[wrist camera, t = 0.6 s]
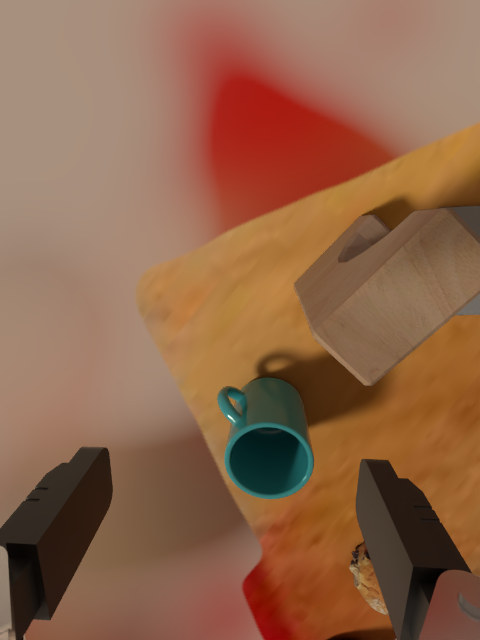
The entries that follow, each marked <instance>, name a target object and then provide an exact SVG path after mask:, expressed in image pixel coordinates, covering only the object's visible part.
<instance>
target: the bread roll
mask: <svg viewBox="0 0 480 640" xmlns="http://www.w3.org/2000/svg"><path fill="white" fill-rule="evenodd" d="M352 555H353V560H352V561H351V565H350V567H349V568H350V570H351V572H353V575H354V585H355V586H356V587H357V589H358V590H359V592H360V594H361V595H362V597H363V598H364V599H365V600H366V602H367V603H368V604H369V605H370V606H371V607H372V608H373V609H375V610H376V611H378V612H380V613H382V614H385V615H389V614H388V611H387V608H386V605H385V602H384V599H383V596H382V593H381V590H380V586H379V583H378V580H377V577H376V574H375V571H374V568H373V565H372V562H371V559H370V556H369V553H368V550H367V547H366V544H365V542H364V543H362V544H361V545H360V546H359V547H358V548H357V549H356V551H355V552H354V551H353V552H352Z"/></svg>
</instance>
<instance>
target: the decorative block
mask: <svg viewBox="0 0 480 640" xmlns="http://www.w3.org/2000/svg"><path fill="white" fill-rule="evenodd" d="M294 288H295V291H296V293H297V296H298V298H299V301H300V304H301V306H302V309H303V311H304V314H305V316H306V319H307V322H308V324H309V327H310V329H311V332H312V335H313V337H314V339H315V340H316V341H317V342H318V343H319V344H320V345H321V346H323V347H324V348H325V349H326V350H327V351H328V352H329V353H330V354H331V355H332V356H333V357H334V358H335V359H337V360H338V361H339V362H340V363H341V364H342V365H343V366H344V367H345V368H346V369H347V370H348V371H350V372H351V373H352V374H353V375H354V376H355V377H356V378H357V379H358V380H359V381H360V382H361V383H363V384H364V385H365V386H373V385H374V384H375V383H376V382H377V381H378V380H380V379H381V378H382V377H383V376H384V375H385V374H387V373H388V372H389V371H390V370H391V369H393V368H394V367H395V366H396V365H397V364H398V363H400V362H401V361H402V360H403V359H404V358H405V357H407V356H408V355H409V354H410V353H411V352H412V351H414V350H415V349H416V348H417V347H418V346H420V345H421V344H422V343H423V342H424V341H425V340H427V339H428V338H429V337H430V336H431V335H432V334H434V333H435V332H436V331H437V330H438V329H439V328H441V327H442V326H443V325H444V324H445V323H446V322H448V321H449V320H450V319H451V318H452V317H453V316H455V315H456V314H457V313H458V312H459V311H460V310H462V309H463V308H464V307H465V306H466V305H467V304H468V303H470V302H471V301H472V300H473V299H474V298H475V297H477V296H478V295H479V294H480V237H479V236H478V235H477V234H476V233H475V232H474V231H473V230H472V229H471V228H470V227H469V226H468V225H467V224H466V223H465V221H464V220H463V219H462V218H461V217H460V216H459V215H458V214H457V213H456V212H455V211H454V210H453V209H452V208H440V209H429V210H419V211H414V212H412V213H411V214H410V215H409V216H408V217H407V218H406V219H405V220H403V221H402V222H401V223H400V224H399V225H398V226H397V227H396V228H394V229H393V230H392V231H391V230H390V229H389V228H388V227H387V226H386V225H385V224H384V223H383V222H382V221H381V220H380V219H379V218H378V217H377V216H376V215H364V216H359V217H358V219H357V220H356V221H355V222H354V223H353V224H352V225H351V226H350V227H349V228H348V229H347V230H346V231H345V232H344V233H343V234H342V235H341V236H340V237H339V238H338V239H337V240H336V241H335V242H334V243H333V244H332V245H331V246H330V247H329V248H328V249H327V250H326V251H325V252H324V253H323V254H322V255H321V256H320V257H319V258H318V259H317V260H316V261H315V262H314V264H313V265H312V266H311V267H310V268H309V269H308V270H307V271H306V272H305V273H304V274H303V275H302V276H301V277H300V278H299V279H298V280H297V281H296V282H295V283H294Z"/></svg>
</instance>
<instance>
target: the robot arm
mask: <svg viewBox="0 0 480 640" xmlns="http://www.w3.org/2000/svg"><path fill="white" fill-rule="evenodd" d="M112 492H113V486H112V477H111V467H110V459H109V451H108V449H107V448H103V447H81V448H80V449H79V450H78V452H77V453H76V454H75V456H74V457H73V458H72V459H71V461H70V462H69V463H62V464H60V465H59V466H57V467H56V468H54V469H53V470H52V471H50V472H49V473H47V474H46V475H45V477H43V479H42V480H41V481H40V482H39V483H38V485H37V486H36V487H35V490H32V492H31V493H30V494H29V495H28V496H27V498H26V501H23V502H22V503H21V505H20V506H19V507H18V508H17V509H16V511H15V512H14V513H13V514H12V515H11V517H10V518H9V519H8V520H7V521H6V522H5V524H4V525H3V526H2V527H1V528H0V640H25V635H24V634H25V633H26V630H27V629H28V627H29V625H30V624H31V622H32V620H33V619H38V620H51V618H52V616H53V614H54V612H55V610H56V608H57V606H58V604H59V602H60V601H61V599H62V597H63V595H64V593H65V591H66V589H67V587H68V585H69V583H70V581H71V580H72V578H73V576H74V574H75V572H76V570H77V568H78V566H79V564H80V562H81V561H82V558H83V557H84V555H85V553H86V551H87V549H88V547H89V545H90V543H91V541H92V539H93V538H94V536H95V534H96V532H97V530H98V528H99V526H100V524H101V522H102V520H103V519H104V517H105V515H106V513H107V511H108V509H109V506H110V503H111V499H112ZM356 513H357V519H358V523H359V526H360V529H361V532H362V535H363V538H364V541H365V544H366V547H367V550H368V553H369V556H370V559H371V562H372V565H373V568H374V571H375V574H376V577H377V580H378V583H379V586H380V590H381V593H382V596H383V599H384V602H385V605H386V608H387V611H388V614H389V617H390V620H391V623H392V626H393V629H394V632H395V635H396V638H397V640H480V577H478V576H476V575H474V574H472V572H471V571H470V569H469V567H468V566H467V564H466V562H465V561H464V559H463V558H462V556H461V554H460V553H459V551H458V549H457V548H456V546H455V544H454V543H453V541H452V539H451V538H450V536H449V534H448V533H447V531H446V530H445V528H444V526H443V525H442V523H440V521H439V518H438V516H437V515H436V513H435V511H434V510H432V506H431V505H430V503H429V502H428V500H427V498H426V497H425V495H424V493H423V492H422V491H421V490H420V489H419V488H418V487H417V486H415V485H414V484H413V483H412V482H411V481H410V480H409V479H403V478H398V477H397V475H396V473H395V471H394V469H393V467H392V466H391V464H390V462H389V461H388V460H373V459H362V460H361V463H360V470H359V479H358V487H357V496H356Z"/></svg>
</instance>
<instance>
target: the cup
mask: <svg viewBox="0 0 480 640" xmlns="http://www.w3.org/2000/svg"><path fill="white" fill-rule="evenodd" d="M228 397H230V398H232V399H234V400H235V404H234V407H233V405H232V404H231V402H230V400H229V398H228ZM217 400H218V405H219V407H220V409H221V411H222V413H223V414H224V415H225V417H226V418H227V419H228V420H229V421H230V422H231V424H230V430H229V435H228V440H227V445H226V450H225V458H224V460H225V467H226V470H227V473H228V475H229V477H230V478H231V480H232V481H233V482H234V483H235V485H236V486H238V487H239V488H240V489H241V490H243V491H244V492H246V493H248V494H250V495H252V496H255V497H259V498H264V499H278V498H283V497H287V496H289V495H292V494H294V493H295V492H297V491H299V490H300V489H301V488H302V487H303V486H304V485H305V484H306V483H307V482H308V480H309V478H310V476H311V474H312V471H313V467H314V456H313V451H312V445H311V440H310V435H309V429H308V424H307V419H306V413H305V408H304V403H303V400H302V398H301V396H300V394H299V393H298V391H297V390H296V389H295V388H294V387H293V386H292V385H291V384H289V383H287V382H286V381H283V380H281V379H277V378H271V377H266V378H260V379H256V380H254V381H252V382H250V383H248V384H247V385H245V386H244V387H243V388H242V389H241V390H239V389H237V388H235V387H231V386H226V387H224V388H222V389H221V390H220V392H219V393H218V396H217Z"/></svg>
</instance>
